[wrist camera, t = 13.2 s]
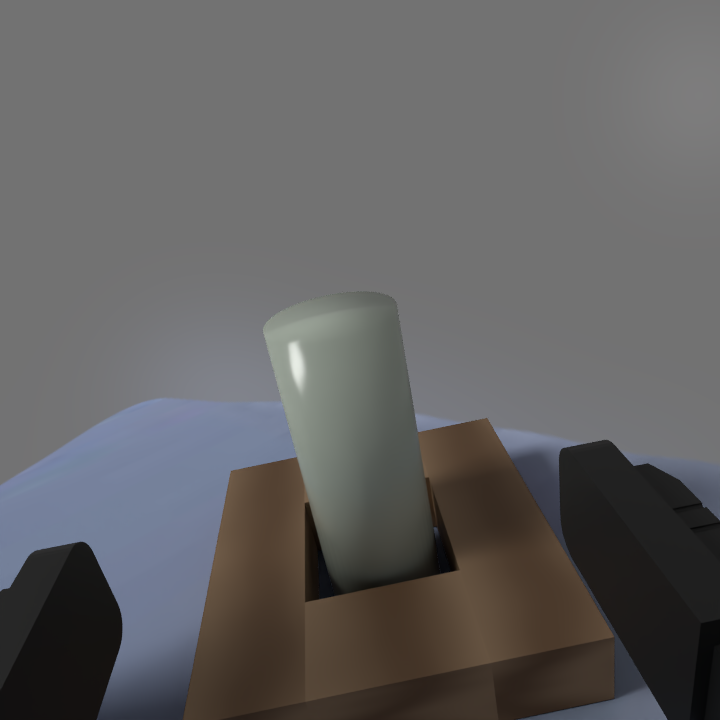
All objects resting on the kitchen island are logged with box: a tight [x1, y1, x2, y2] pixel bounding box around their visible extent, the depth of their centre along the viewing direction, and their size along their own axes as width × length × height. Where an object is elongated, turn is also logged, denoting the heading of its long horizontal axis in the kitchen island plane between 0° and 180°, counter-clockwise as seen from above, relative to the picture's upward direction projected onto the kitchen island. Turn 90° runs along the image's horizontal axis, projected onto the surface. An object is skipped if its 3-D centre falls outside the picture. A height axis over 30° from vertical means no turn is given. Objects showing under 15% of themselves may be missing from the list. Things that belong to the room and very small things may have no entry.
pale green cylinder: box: [263, 292, 441, 596], centre depth 23 cm, size 5×5×13 cm
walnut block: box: [183, 418, 614, 720], centre depth 25 cm, size 14×14×3 cm
